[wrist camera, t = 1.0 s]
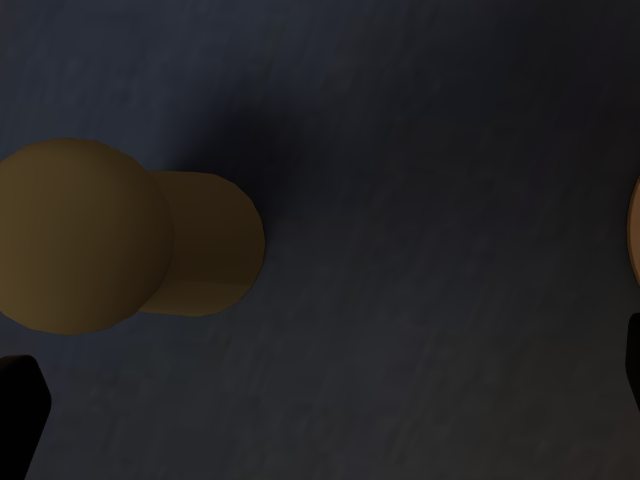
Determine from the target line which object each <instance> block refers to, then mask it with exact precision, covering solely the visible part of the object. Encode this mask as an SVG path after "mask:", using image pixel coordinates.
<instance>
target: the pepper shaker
mask: <svg viewBox="0 0 640 480" xmlns="http://www.w3.org/2000/svg"><path fill="white" fill-rule="evenodd" d="M264 249H265V237H264V231H263V225H262V219H261V218H260V216H259V214H258V212H257V210H256V208H255V206H254V204H253V202H252V200H251V199H250V198H249V197H248V196H247V195H246V194H245V193H244V192H243V191H242V190H241V189H240V188H239V187H238V186H237V185H236V184H234V183H232V182H230V181H228V180H226V179H224V178H222V177H220V176H217V175H215V174H208V173H199V172H184V171H152V170H145V169H144V168H143V167H142V166H141V165H140V164H139V163H138V162H137V161H136V160H135V159H134V158H133V157H131V156H129V155H127V154H124V153H122V152H120V151H118V150H116V149H114V148H112V147H110V146H108V145H106V144H103V143H101V142H98V141H94V140H86V139H77V138H68V137H67V138H56V139H51V140H47V141H42V142H38V143H33V144H29V145H27V146H25V147H24V148H22V149H20V150H19V151H17V152H15V153H14V154H12V155H10V156H9V157H7V158H5V159H4V160H3V161H2V162H0V310H1V312H2V313H3V314H4V315H6V316H7V317H9V318H11V319H13V320H15V321H16V322H18V323H20V324H22V325H24V326H26V327H27V328H29V329H33V330H38V331H43V332H49V333H55V334H61V335H67V336H72V335H77V334H83V333H89V332H94V331H100V330H103V329H107V328H110V327H112V326H114V325H115V324H117V323H119V322H121V321H123V320H124V319H126V318H128V317H130V316H132V315H133V314H135V313H136V312H137V311H139V312H150V313H160V314H171V315H181V316H192V317H198V316H203V315H209V314H215V313H218V312H220V311H222V310H224V309H226V308H228V307H229V306H231V305H233V304H235V303H237V302H238V301H239V300H240V299H241V298H242V297H243V295H244V294H245V293H246V292H247V291H248V290H249V289H250V288H251V287H252V286H253V284H254V282H255V280H256V277H257V275H258V273H259V271H260V269H261V267H262V264H263V257H264Z"/></svg>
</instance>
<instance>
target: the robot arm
mask: <svg viewBox="0 0 640 480" xmlns="http://www.w3.org/2000/svg"><path fill="white" fill-rule="evenodd" d="M625 366H626V374H627V378H628V381H629V384H630V386H631V389H632V392H633V395H634V398H635V400H636V403H637V406H638V409H639V411H640V313H634V314H633V315H632V316H631V318H630V320H629V324H628V336H627V348H626V359H625ZM50 410H51V394H50V392H49V389H48V387H47V384H46V382H45V380H44V377H43V375H42V372H41V370H40V368H39V365H38V363H37V361H36V359H35V358H34V357H32V356H30V355H11V356H5V357H2V358H0V480H24V479H25V476H26V474H27V471H28V468H29V466H30V463H31V461H32V458H33V455H34V453H35V450H36V447H37V445H38V442H39V439H40V437H41V434H42V431H43V429H44V426H45V423H46V421H47V418H48V416H49V413H50Z"/></svg>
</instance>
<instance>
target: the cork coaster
mask: <svg viewBox="0 0 640 480" xmlns="http://www.w3.org/2000/svg"><path fill="white" fill-rule="evenodd" d="M627 244H628V251H629V256H630V261H631V265H632V268H633V271H634V274H635V276H636V279H637V282H638V284H639V286H640V176H639V177H638V179H637V182H636V185H635V188H634V190H633V193H632V196H631V200H630V205H629V210H628V217H627Z"/></svg>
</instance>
